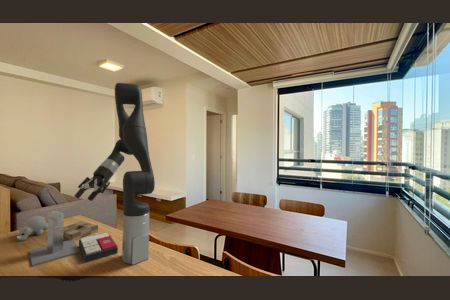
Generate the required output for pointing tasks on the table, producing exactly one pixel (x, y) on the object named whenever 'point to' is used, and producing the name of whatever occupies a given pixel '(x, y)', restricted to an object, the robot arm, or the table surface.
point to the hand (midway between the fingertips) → (82, 198)
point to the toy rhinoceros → (33, 227)
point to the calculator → (97, 247)
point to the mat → (43, 256)
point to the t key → (55, 231)
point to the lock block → (79, 230)
